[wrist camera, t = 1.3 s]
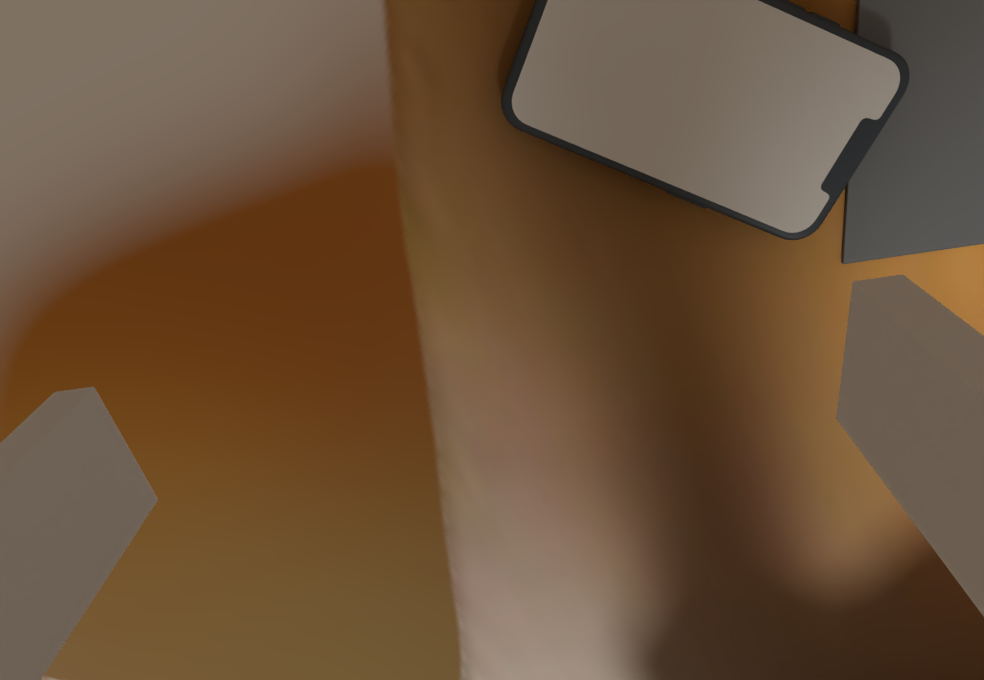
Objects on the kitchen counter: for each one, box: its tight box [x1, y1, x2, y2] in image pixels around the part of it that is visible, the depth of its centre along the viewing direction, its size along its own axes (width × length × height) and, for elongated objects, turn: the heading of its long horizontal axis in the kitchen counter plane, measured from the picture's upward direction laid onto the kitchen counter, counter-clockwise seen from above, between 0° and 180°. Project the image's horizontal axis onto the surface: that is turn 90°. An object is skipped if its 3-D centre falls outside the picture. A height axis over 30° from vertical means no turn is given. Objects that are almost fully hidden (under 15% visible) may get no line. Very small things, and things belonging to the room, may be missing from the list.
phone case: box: [501, 0, 910, 240], centre depth 28 cm, size 9×2×16 cm
